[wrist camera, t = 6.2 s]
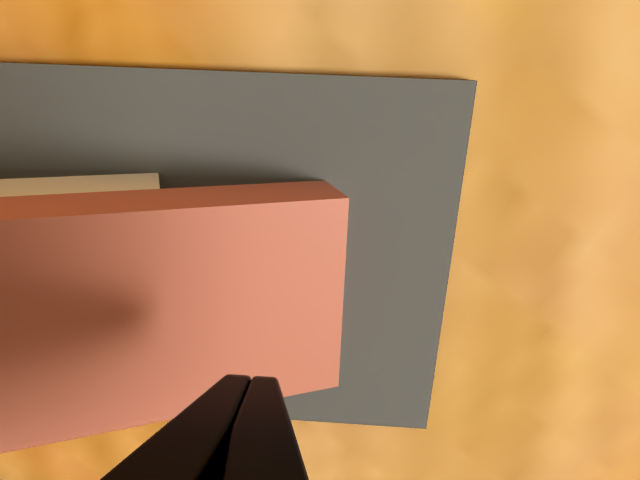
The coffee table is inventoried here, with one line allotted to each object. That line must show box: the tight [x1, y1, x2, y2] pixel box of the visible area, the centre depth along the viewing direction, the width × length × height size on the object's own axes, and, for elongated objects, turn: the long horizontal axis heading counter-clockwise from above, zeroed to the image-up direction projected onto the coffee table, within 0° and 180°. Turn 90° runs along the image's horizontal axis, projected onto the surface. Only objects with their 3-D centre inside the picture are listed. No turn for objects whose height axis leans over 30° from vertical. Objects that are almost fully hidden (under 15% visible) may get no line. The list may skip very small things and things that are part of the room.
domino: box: [0, 180, 349, 453], centre depth 10 cm, size 2×5×9 cm
